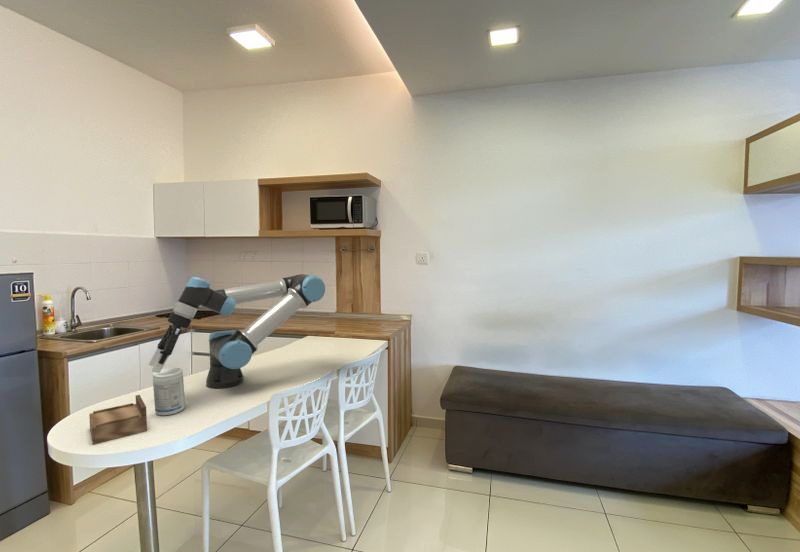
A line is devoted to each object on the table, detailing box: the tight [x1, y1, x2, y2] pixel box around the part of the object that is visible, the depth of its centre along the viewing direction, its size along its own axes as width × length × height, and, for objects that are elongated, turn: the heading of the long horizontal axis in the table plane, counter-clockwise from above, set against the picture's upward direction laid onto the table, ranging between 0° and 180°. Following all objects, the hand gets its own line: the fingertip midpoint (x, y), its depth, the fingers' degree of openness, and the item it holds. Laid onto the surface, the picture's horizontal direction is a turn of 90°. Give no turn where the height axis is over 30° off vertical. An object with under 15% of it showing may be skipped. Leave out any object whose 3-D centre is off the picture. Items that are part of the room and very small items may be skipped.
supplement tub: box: [152, 367, 186, 416], centre depth 143 cm, size 10×10×15 cm
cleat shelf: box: [88, 394, 148, 445], centre depth 129 cm, size 14×14×8 cm
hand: (153, 369), depth 145 cm, fingers open, 13 cm apart
